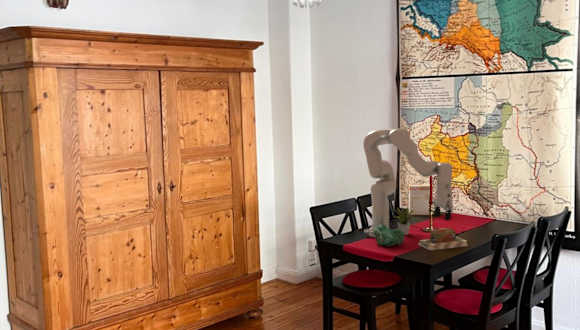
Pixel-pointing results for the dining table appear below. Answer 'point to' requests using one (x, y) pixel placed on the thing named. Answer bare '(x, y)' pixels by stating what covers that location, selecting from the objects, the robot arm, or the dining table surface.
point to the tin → (442, 235)
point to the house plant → (404, 220)
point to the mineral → (388, 236)
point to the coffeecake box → (419, 199)
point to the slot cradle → (443, 244)
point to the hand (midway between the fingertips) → (442, 218)
